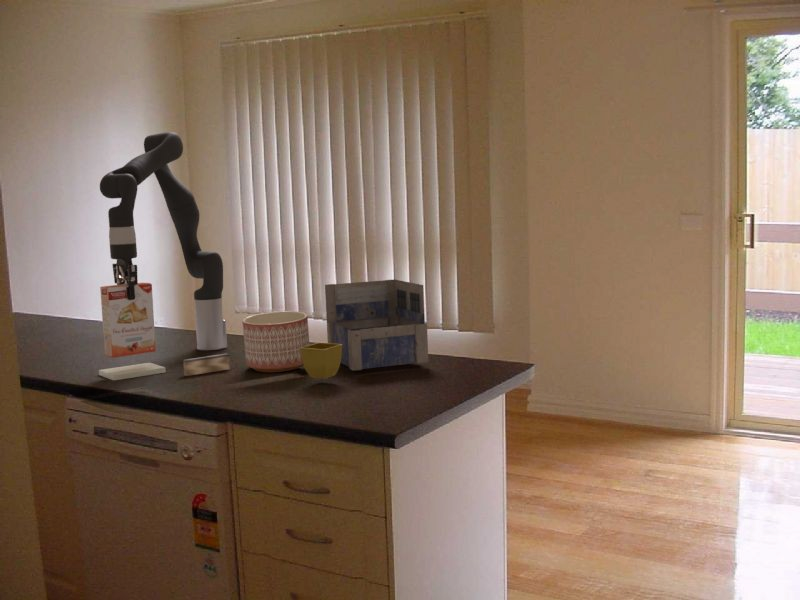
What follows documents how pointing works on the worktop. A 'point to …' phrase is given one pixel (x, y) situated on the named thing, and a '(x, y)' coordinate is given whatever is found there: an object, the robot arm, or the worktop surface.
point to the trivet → (131, 371)
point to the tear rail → (206, 364)
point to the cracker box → (127, 320)
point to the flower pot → (321, 359)
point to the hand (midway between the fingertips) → (127, 298)
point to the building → (377, 323)
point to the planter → (275, 340)
